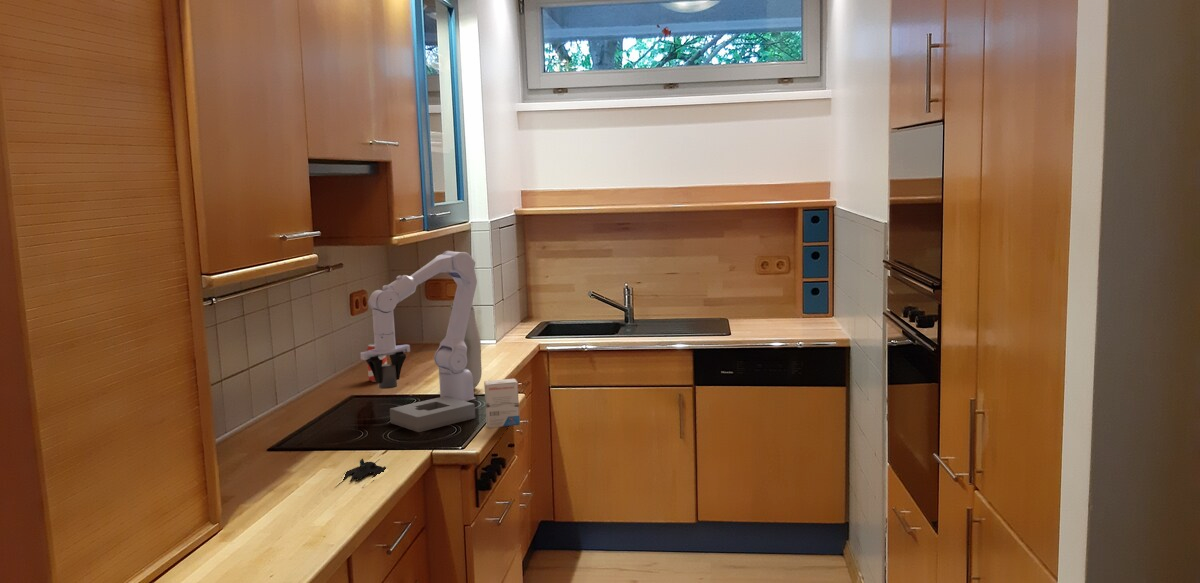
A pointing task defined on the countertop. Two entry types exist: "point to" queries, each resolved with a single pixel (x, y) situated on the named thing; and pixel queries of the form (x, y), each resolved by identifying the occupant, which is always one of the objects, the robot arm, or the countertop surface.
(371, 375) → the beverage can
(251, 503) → the countertop surface
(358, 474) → the angular spaceship
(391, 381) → the dark grey rounded piece
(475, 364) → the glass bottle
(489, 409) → the ink box
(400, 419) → the foam packaging insert
